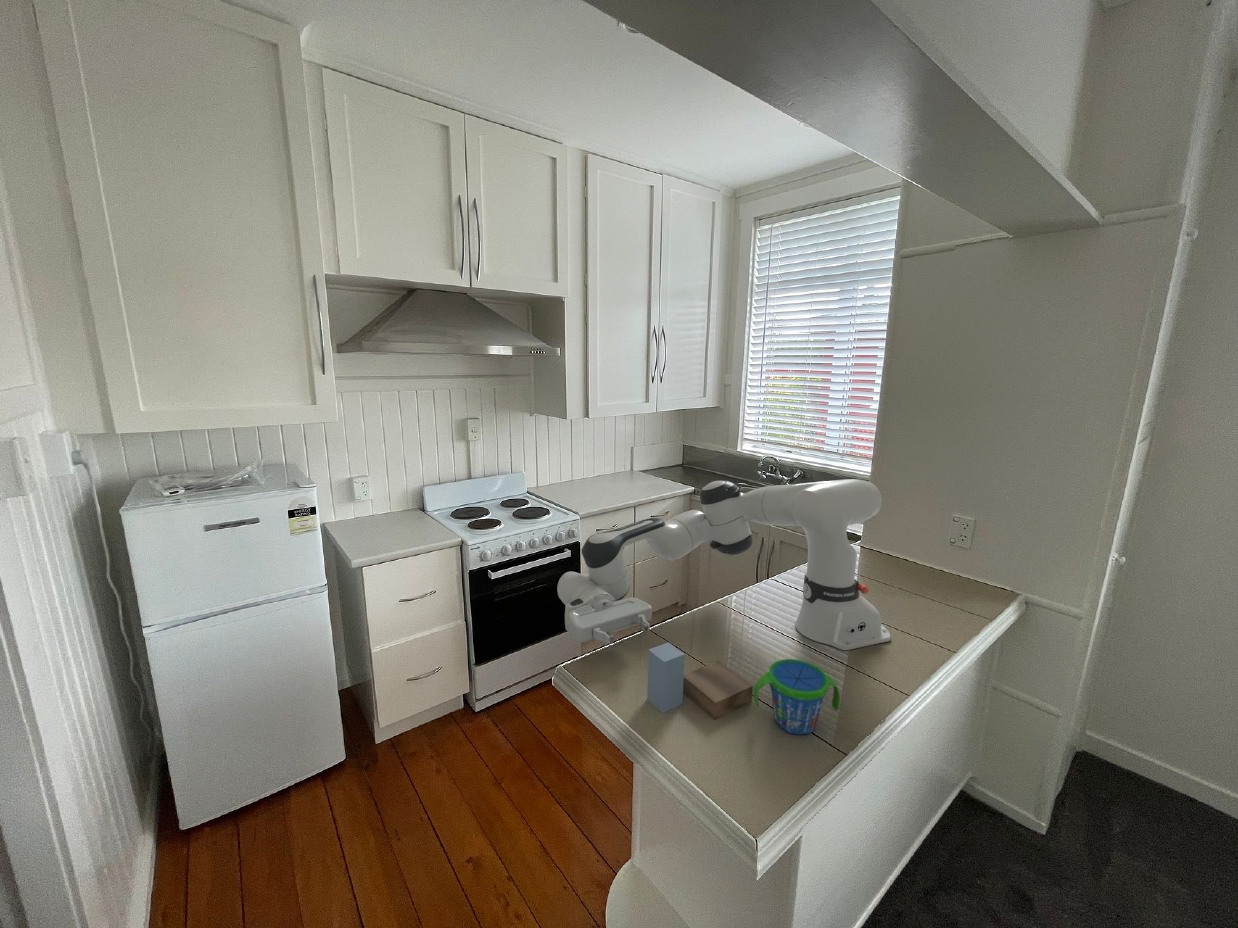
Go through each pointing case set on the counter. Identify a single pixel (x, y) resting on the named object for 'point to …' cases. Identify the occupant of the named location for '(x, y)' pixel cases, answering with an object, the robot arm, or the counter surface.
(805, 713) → the snack cup
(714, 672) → the walnut base
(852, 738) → the counter surface
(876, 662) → the counter surface
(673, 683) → the pillar
